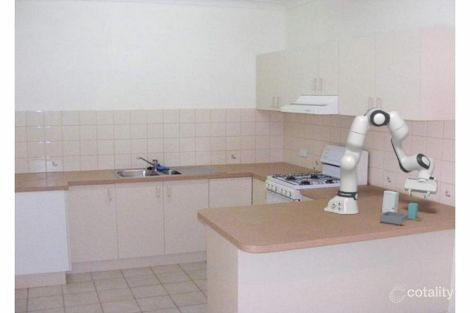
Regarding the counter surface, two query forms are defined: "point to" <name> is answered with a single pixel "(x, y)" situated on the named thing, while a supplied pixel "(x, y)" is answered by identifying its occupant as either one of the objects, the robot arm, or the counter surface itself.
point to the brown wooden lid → (417, 219)
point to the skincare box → (390, 201)
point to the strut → (412, 210)
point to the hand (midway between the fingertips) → (417, 197)
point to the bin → (393, 218)
